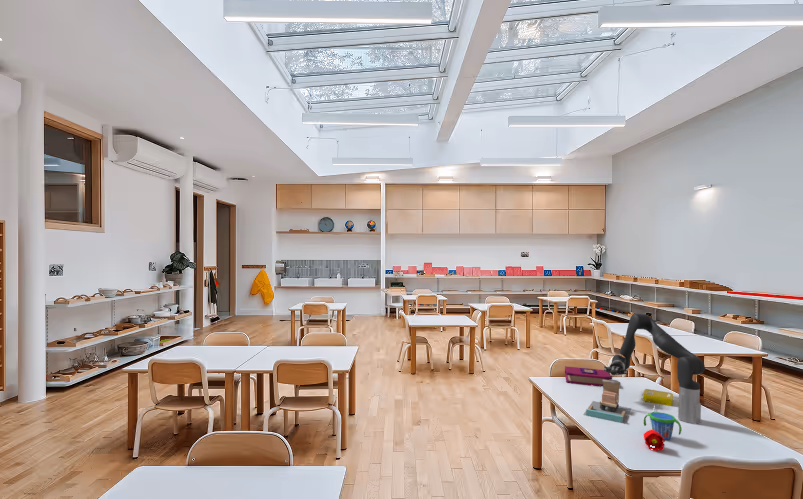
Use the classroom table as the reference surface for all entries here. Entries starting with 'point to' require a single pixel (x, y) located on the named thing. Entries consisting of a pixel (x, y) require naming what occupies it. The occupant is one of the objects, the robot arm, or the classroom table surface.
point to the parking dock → (619, 410)
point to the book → (586, 376)
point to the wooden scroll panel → (610, 395)
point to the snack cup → (663, 424)
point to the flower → (654, 440)
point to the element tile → (658, 397)
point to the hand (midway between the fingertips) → (613, 373)
